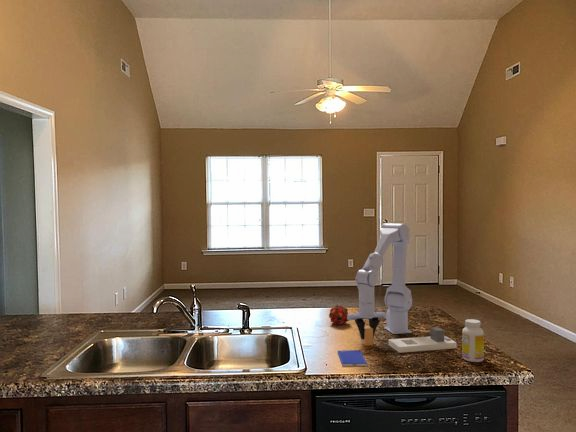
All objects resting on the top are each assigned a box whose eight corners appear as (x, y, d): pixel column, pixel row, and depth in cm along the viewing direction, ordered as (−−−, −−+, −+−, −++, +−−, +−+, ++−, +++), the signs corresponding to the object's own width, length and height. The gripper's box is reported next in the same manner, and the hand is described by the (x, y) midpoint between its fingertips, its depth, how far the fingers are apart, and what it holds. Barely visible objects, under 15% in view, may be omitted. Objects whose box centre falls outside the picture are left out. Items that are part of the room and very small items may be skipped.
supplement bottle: (485, 357, 152) (485, 319, 151) (482, 364, 146) (482, 324, 146) (464, 354, 155) (464, 317, 155) (460, 360, 149) (460, 322, 149)
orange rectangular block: (361, 341, 171) (360, 326, 171) (368, 341, 171) (368, 325, 171) (365, 345, 166) (365, 329, 166) (373, 344, 167) (372, 328, 167)
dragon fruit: (340, 323, 203) (341, 335, 191) (324, 312, 203) (324, 323, 191) (351, 308, 201) (353, 319, 190) (336, 298, 201) (336, 308, 189)
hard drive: (337, 350, 158) (342, 363, 146) (360, 350, 158) (367, 362, 146) (337, 354, 158) (342, 368, 146) (360, 354, 158) (367, 367, 146)
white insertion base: (388, 344, 167) (388, 328, 167) (443, 340, 171) (443, 324, 171) (399, 352, 158) (398, 335, 158) (456, 348, 162) (456, 331, 162)
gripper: (351, 305, 163) (351, 342, 164) (389, 303, 166) (389, 340, 166) (345, 301, 170) (345, 337, 170) (381, 299, 173) (382, 334, 173)
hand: (366, 338), depth 169 cm, fingers closed on orange rectangular block, 3 cm apart
